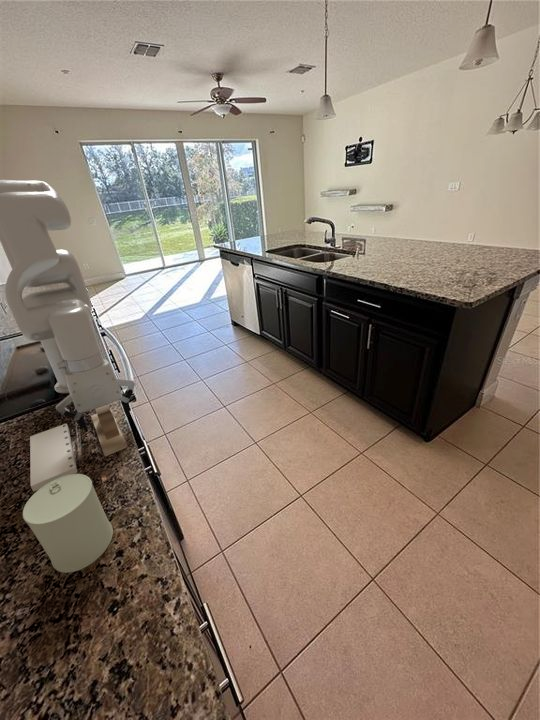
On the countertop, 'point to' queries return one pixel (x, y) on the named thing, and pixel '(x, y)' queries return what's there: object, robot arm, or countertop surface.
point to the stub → (108, 431)
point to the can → (69, 522)
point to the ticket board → (51, 456)
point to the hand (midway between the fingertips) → (107, 421)
